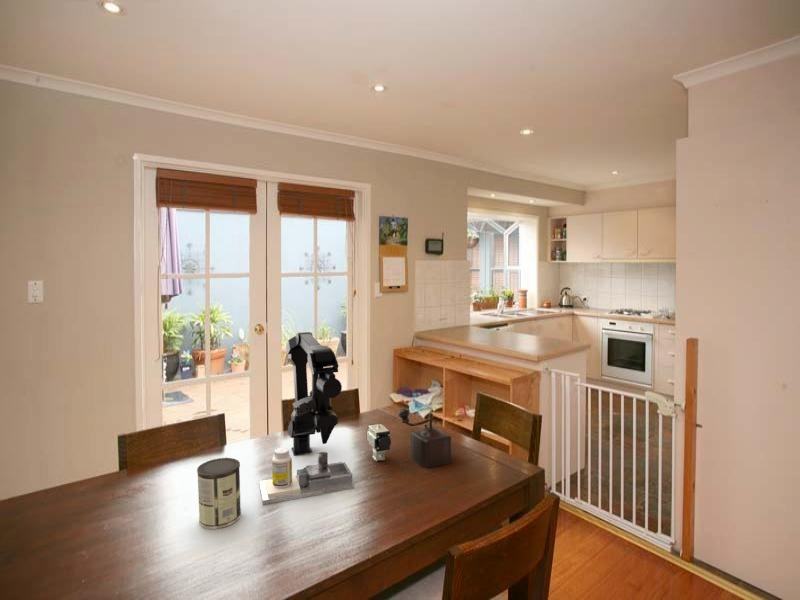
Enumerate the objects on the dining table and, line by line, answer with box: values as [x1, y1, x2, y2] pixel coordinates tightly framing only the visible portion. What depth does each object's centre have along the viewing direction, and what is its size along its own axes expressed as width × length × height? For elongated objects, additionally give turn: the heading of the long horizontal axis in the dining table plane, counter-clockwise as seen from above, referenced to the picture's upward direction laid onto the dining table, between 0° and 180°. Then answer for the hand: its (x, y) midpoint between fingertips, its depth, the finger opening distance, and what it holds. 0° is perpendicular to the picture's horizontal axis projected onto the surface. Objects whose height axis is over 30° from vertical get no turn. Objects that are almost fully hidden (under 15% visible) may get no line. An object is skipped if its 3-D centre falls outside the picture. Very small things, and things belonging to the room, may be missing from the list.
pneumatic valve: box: [365, 422, 392, 463], centre depth 156 cm, size 6×12×12 cm, turn 23°
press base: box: [259, 461, 355, 505], centre depth 136 cm, size 12×26×4 cm, turn 111°
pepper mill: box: [397, 407, 452, 469], centre depth 154 cm, size 16×11×18 cm
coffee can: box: [196, 457, 242, 530], centre depth 119 cm, size 10×10×14 cm
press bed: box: [264, 474, 300, 497], centre depth 134 cm, size 9×9×1 cm
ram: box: [296, 451, 330, 486], centre depth 137 cm, size 7×9×8 cm
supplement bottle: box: [271, 447, 293, 488], centre depth 133 cm, size 6×6×10 cm
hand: (321, 437), depth 142 cm, fingers open, 9 cm apart
